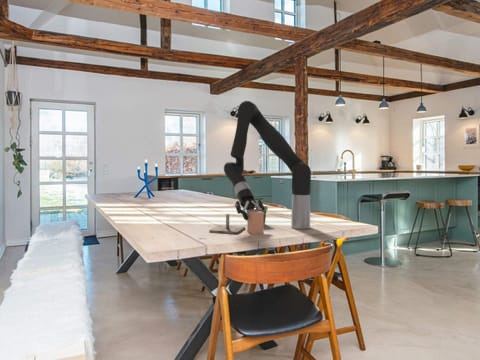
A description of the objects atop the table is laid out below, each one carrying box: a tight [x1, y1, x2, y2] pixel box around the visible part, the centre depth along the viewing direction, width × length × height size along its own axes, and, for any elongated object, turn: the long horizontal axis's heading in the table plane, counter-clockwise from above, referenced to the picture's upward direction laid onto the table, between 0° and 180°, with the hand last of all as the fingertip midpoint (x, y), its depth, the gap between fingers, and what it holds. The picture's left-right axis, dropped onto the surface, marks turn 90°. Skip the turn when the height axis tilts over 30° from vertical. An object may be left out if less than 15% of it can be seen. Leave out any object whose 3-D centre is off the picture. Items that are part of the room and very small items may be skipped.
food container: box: [245, 205, 269, 225], centre depth 186 cm, size 12×6×10 cm, turn 76°
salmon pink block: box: [246, 211, 265, 235], centre depth 167 cm, size 6×6×10 cm
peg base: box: [208, 213, 246, 235], centre depth 171 cm, size 14×13×8 cm
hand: (255, 218), depth 167 cm, fingers open, 8 cm apart
